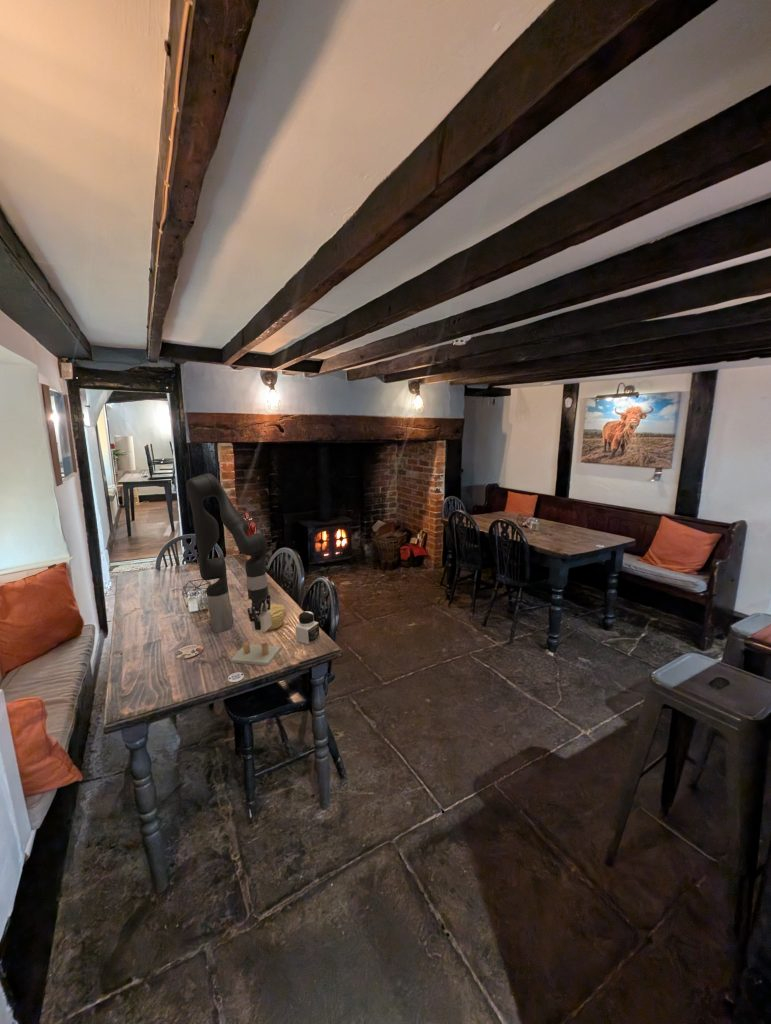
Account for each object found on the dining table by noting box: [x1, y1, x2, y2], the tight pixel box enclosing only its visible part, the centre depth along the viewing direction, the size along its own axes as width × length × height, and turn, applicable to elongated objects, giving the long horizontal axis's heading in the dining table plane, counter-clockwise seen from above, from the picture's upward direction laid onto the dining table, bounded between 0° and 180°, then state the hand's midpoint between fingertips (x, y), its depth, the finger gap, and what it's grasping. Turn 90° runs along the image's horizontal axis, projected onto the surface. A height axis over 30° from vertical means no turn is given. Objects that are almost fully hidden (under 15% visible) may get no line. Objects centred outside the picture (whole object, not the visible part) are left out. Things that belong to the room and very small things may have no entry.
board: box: [229, 641, 283, 667], centre depth 166 cm, size 12×16×5 cm
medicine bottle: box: [294, 611, 320, 645], centre depth 177 cm, size 7×7×12 cm
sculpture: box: [267, 602, 287, 631], centre depth 190 cm, size 12×12×11 cm
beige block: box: [250, 611, 272, 633], centre depth 163 cm, size 5×5×6 cm
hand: (261, 625), depth 163 cm, fingers closed on beige block, 5 cm apart
